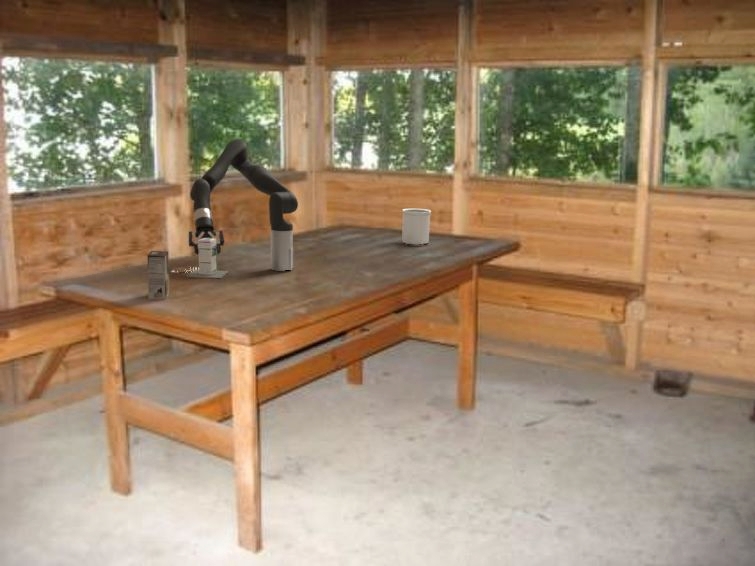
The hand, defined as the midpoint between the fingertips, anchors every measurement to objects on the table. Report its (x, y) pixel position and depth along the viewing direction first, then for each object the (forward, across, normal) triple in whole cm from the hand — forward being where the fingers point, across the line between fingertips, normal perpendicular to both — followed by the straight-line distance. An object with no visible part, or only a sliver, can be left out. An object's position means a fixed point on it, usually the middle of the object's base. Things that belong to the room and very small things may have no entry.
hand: (208, 253), depth 355 cm
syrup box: (+5, 0, -7) cm, 9 cm away
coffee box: (+32, +23, +19) cm, 44 cm away
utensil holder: (-40, -117, -53) cm, 134 cm away
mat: (+6, 0, -7) cm, 9 cm away
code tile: (-2, +6, -15) cm, 17 cm away
